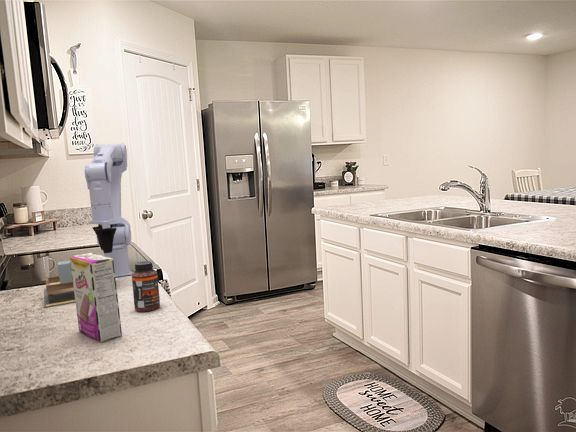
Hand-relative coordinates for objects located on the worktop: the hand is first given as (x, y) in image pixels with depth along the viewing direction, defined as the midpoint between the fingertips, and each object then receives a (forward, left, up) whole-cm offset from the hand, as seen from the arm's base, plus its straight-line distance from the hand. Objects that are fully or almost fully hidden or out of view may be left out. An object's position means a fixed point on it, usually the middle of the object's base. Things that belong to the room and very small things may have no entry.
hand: (106, 251), depth 140 cm
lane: (+2, -11, -10) cm, 15 cm away
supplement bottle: (+31, +5, -11) cm, 33 cm away
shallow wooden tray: (+6, -11, -10) cm, 16 cm away
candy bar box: (+43, -7, -11) cm, 44 cm away
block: (+6, -11, -7) cm, 14 cm away
